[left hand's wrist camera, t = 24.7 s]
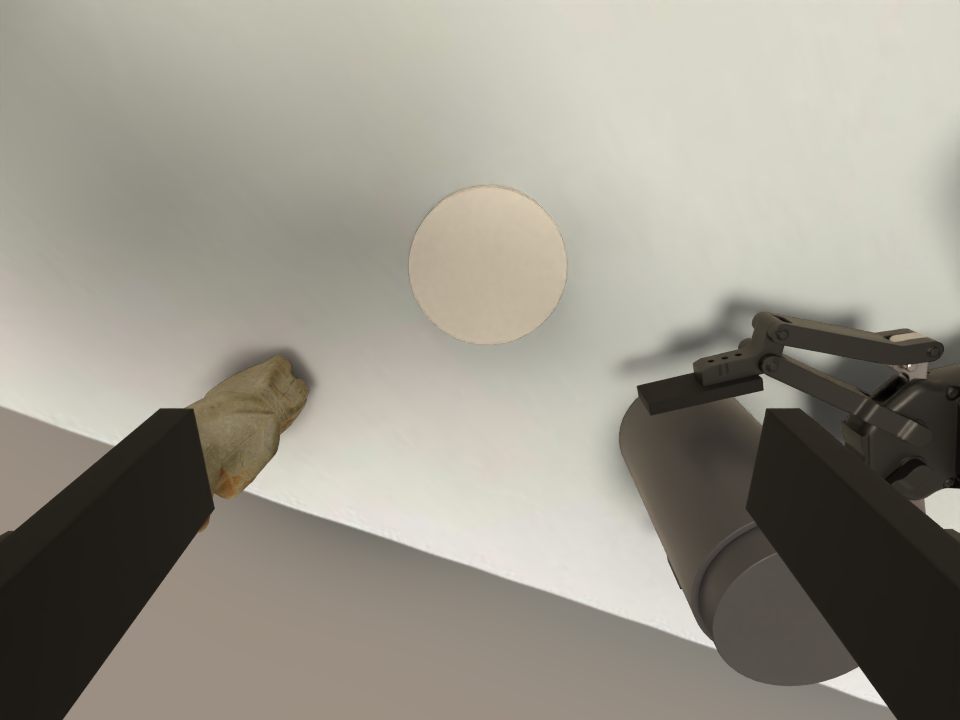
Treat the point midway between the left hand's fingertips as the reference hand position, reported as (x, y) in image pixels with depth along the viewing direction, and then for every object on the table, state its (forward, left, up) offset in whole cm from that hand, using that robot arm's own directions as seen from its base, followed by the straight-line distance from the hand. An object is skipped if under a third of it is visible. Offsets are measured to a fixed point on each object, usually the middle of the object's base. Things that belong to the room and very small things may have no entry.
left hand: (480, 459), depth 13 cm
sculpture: (-11, -14, -26) cm, 31 cm away
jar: (+18, -7, -26) cm, 32 cm away
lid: (0, 0, -24) cm, 24 cm away
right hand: (+16, -9, -19) cm, 26 cm away
